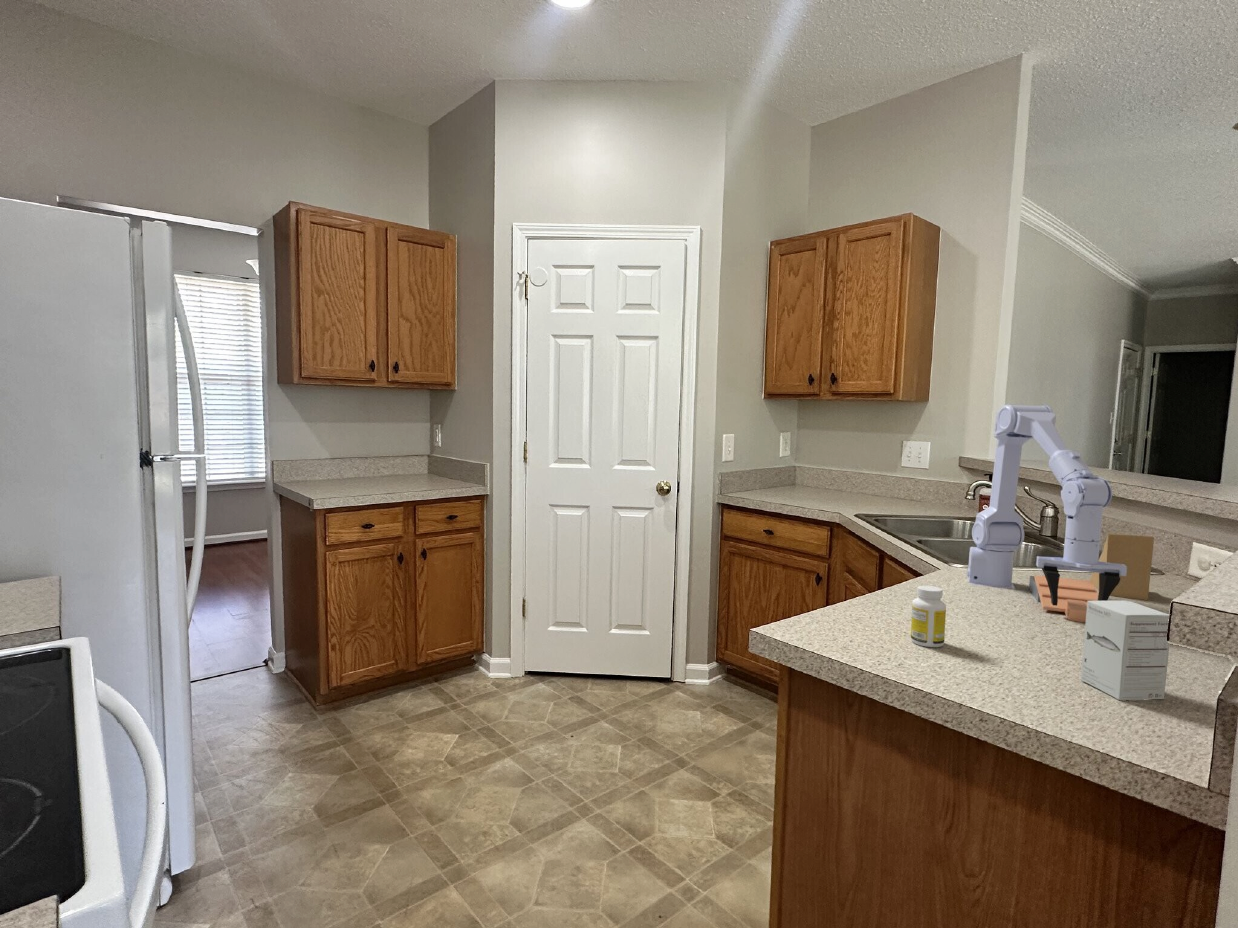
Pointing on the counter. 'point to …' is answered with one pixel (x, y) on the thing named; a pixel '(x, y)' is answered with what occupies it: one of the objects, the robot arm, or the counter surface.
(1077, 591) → the lid
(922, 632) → the supplement bottle
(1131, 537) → the sandwich container
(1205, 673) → the counter surface
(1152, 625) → the supplement box
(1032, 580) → the tub
